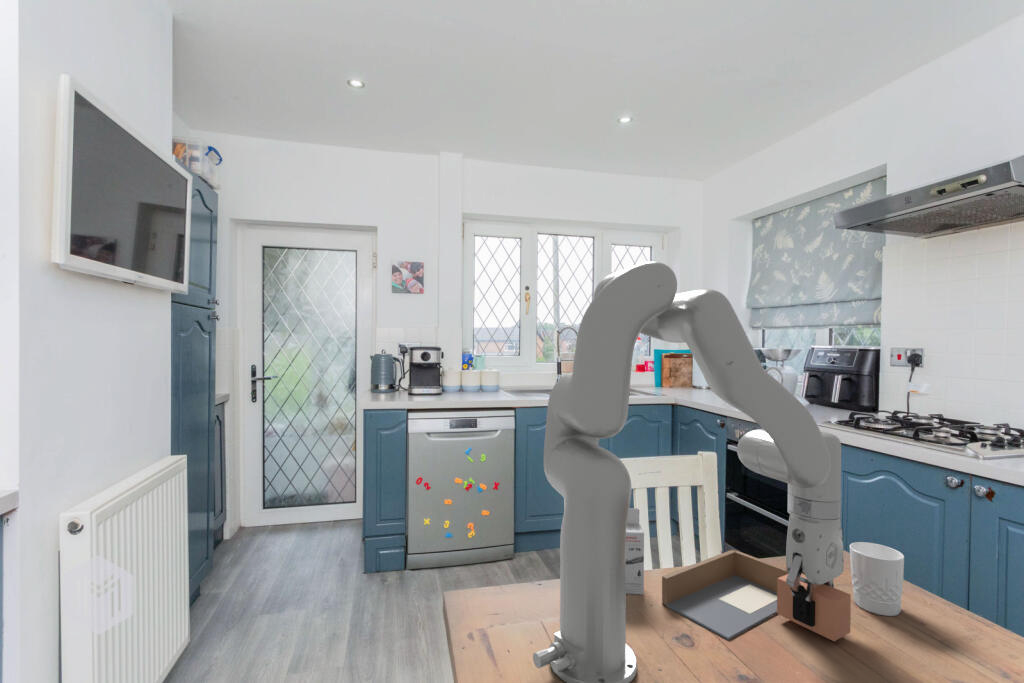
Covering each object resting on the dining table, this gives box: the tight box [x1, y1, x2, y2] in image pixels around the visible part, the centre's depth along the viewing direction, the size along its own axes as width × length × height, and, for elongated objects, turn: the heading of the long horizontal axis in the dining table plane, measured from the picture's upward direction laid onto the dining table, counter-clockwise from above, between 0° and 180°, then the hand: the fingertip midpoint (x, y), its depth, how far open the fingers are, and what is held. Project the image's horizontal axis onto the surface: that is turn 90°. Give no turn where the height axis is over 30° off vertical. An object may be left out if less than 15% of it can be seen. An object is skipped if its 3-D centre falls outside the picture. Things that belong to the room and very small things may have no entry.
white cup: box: [849, 541, 905, 617], centre depth 87 cm, size 8×8×10 cm
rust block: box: [776, 574, 852, 642], centre depth 80 cm, size 5×9×6 cm, turn 31°
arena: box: [661, 548, 788, 641], centre depth 88 cm, size 22×13×5 cm, turn 123°
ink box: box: [626, 507, 645, 595], centre depth 94 cm, size 9×5×15 cm, turn 84°
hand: (812, 616), depth 80 cm, fingers closed on rust block, 5 cm apart
